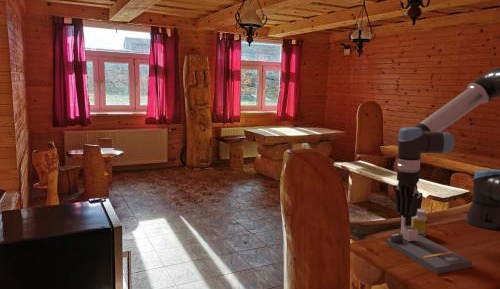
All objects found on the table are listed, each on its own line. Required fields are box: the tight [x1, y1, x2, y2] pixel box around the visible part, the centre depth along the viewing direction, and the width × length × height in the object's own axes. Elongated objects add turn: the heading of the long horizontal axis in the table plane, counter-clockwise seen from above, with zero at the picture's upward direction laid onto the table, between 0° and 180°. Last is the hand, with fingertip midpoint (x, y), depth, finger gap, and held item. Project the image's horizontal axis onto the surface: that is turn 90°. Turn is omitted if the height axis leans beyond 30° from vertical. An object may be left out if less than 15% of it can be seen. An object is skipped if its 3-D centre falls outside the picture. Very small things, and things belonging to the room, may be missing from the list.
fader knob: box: [403, 226, 418, 242], centre depth 137 cm, size 4×3×4 cm
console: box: [385, 232, 473, 274], centre depth 129 cm, size 14×24×5 cm, turn 18°
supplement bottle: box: [410, 208, 428, 237], centre depth 147 cm, size 5×5×10 cm
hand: (405, 232), depth 139 cm, fingers closed
